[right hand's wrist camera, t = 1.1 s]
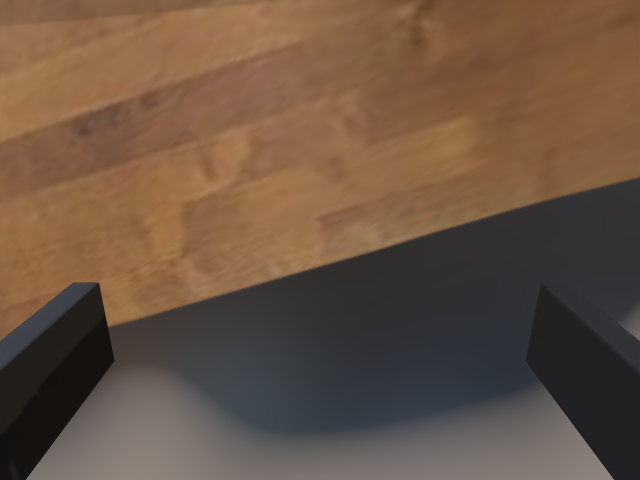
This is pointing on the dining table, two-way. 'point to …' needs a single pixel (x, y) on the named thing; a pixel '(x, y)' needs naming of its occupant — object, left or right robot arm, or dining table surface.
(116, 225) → the dining table surface
